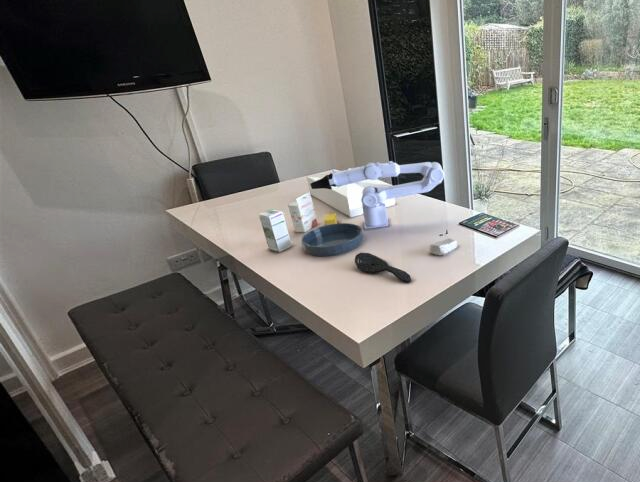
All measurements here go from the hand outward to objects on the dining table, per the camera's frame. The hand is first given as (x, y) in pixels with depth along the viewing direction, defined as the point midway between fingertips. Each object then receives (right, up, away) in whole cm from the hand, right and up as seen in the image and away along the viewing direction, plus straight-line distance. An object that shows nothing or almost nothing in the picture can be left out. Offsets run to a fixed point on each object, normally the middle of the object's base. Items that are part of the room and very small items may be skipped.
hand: (313, 185), depth 159 cm
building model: (-2, -3, +42) cm, 42 cm away
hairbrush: (+35, -31, -23) cm, 52 cm away
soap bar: (+53, -25, -10) cm, 60 cm away
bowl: (+10, -23, -4) cm, 25 cm away
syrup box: (-9, -24, -6) cm, 27 cm away
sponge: (+2, -16, +12) cm, 20 cm away
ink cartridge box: (-8, -17, +10) cm, 22 cm away
